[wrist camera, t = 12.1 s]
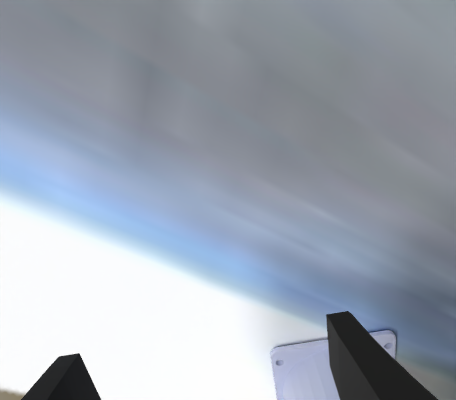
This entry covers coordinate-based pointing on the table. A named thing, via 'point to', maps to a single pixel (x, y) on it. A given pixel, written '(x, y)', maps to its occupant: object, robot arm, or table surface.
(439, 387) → the table surface
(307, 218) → the table surface
